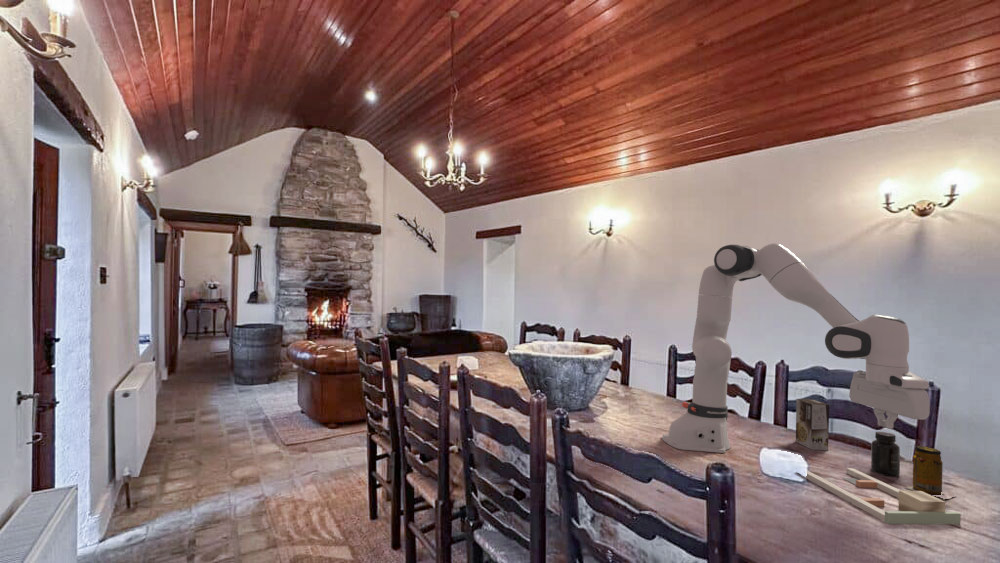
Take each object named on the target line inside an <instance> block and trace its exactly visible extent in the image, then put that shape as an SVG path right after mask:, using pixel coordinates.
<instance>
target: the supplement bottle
mask: <svg viewBox="0 0 1000 563" xmlns="http://www.w3.org/2000/svg"><path fill="white" fill-rule="evenodd" d="M874 437H875V438H874V439H875V440H873V441H871V444H870V448H871V450H870V454H871V455H870V456H871V459H870V462H871V463H870V464H871V465H870V466H871V470H872V471H873V472H874V473H876V474H878V475H882V476H888V477H899V476H900V474H901V449H900V446H899V445H898V444H897V443H896V441H897V440H896V435H895V434H893V433H890V432H885V431H875V434H874Z"/></svg>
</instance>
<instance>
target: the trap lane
mask: <svg viewBox="0 0 1000 563" xmlns="http://www.w3.org/2000/svg"><path fill="white" fill-rule="evenodd" d="M806 470H807V469H806ZM846 474H847V475H849V476H851V477H842V479H843V480H844V481H847V482H848V483H851V484H852V485H853V486H854V485H855V486H857V487H858V488H864V489H865V488H869V489H870V488H871V489H872V488H874V489H875V488H877V489H879V490H881V491H883V492H885V493H886V494H888V495H892V496H893V497H895V498H897V499H899V490H900V489H899V488H897V487H894V486H892V485H890V484H888V483H885V482H883V481H882V480H879V479H877V478H875V477H874V476H873V477H872V476H870V475H868V474H866V473H865V472H862V471H860V470H858V469H855V468H852V467H851V468H850V467H847V468H846ZM805 479H807V480H808V481H810V482H812V483H814V484H816V485H818V486H820V487H821V488H823V489H825V490H827V491H828V492H830V493H832V494H834V495H836V496H837V497H839V498H840V499H842V500H843V501H844V500H845V501H846V502H848V503H849V504H852V505H853V506H856V507H858V508H859V509H861V510H862V511H865V512H866V513H868V514H870V515H872V516H874V517H876V518H877V519H879V520H881V521H882V522H884V523H886V524H888V525H961V519H962V518H961V517H962V516H961V515H962V514H961V513H960V512H958V511H946V510H945V512H929V511H900V510H884V509H881V508H880V507H885V500H883V499H882V498H880V497H858V496H856V495H855V494H853V493H851V492H849V491H847V490H845V489H843V488H841V487H839V486H837V485H836V484H834V483H832V482H830V481H828V480H827V479H825V478H822V477H821V476H819V475H817V474H815V473H813V472H812V471H809V470H807V476H806V478H805Z"/></svg>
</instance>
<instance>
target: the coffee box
mask: <svg viewBox="0 0 1000 563" xmlns="http://www.w3.org/2000/svg"><path fill="white" fill-rule="evenodd" d="M795 402H796V405H795V406H796V407H795V408H796V410H795V442H796V443H797V444H800V445H802V446H804V447H805V448H808V449H810V450H815V451H816V450H817V451H829V437H830V435H829V434H830V433H829V428H830V404H827V403H825V402H822V401H819V400H817V399H813V398H811V399H810V398H796V401H795Z"/></svg>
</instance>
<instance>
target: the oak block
mask: <svg viewBox="0 0 1000 563" xmlns="http://www.w3.org/2000/svg"><path fill="white" fill-rule="evenodd" d="M897 511H929V512H945V511H946V500H943V499H940V498H936V497H934V496H931V495H929V494H927V493H925V492H923V491H913V490H902V489H899V498H898V510H897Z"/></svg>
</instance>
